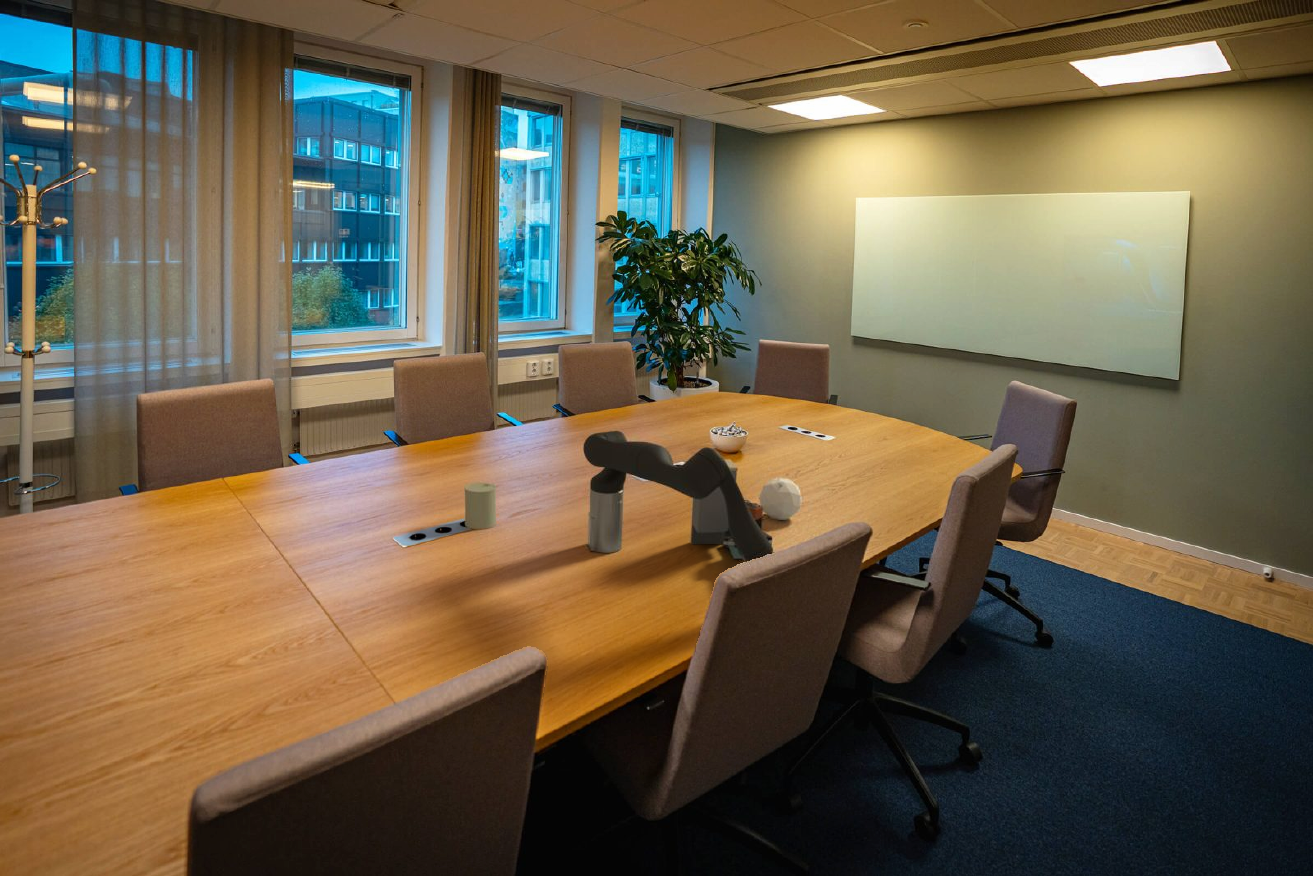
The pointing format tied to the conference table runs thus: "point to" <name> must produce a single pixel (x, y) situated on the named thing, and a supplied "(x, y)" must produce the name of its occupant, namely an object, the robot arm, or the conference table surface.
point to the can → (480, 505)
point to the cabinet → (711, 516)
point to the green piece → (734, 552)
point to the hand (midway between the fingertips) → (738, 529)
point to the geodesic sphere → (780, 498)
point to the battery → (755, 512)
